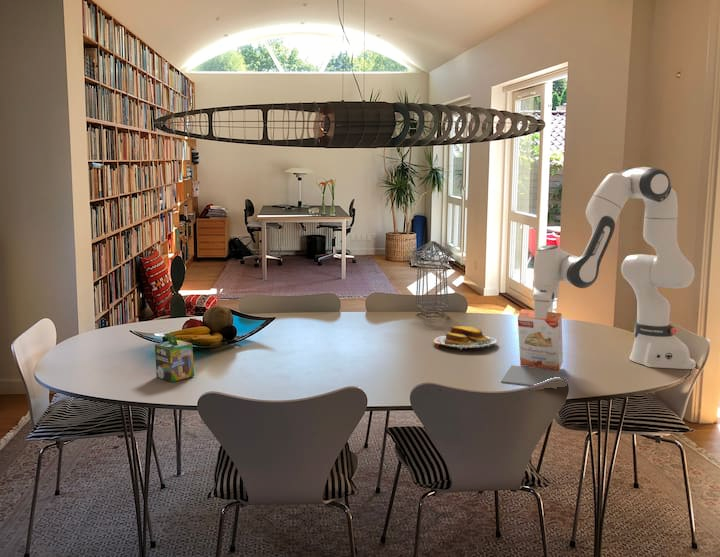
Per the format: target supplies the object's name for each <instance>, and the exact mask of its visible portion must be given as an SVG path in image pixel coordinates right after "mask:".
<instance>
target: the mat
mask: <svg viewBox="0 0 720 557" xmlns="http://www.w3.org/2000/svg"><path fill="white" fill-rule="evenodd" d="M564 372H565V371H564V370H559V371H558V370H549V369H542V368H536V367H529V366H522V365H514V364H513V365H510V367H509V369H508V370H507V372H505V374H504V376H503V377H502V379H501V384H502V383H503V384H512V385H517V386H519V385H520V386H527V387H531V386H530V385H534V384H537V383H540V382H543V381H545V380H547V379H550V378H554V377H560V378H561V379H562V378H563V375H564Z"/></svg>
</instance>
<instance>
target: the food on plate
mask: <svg viewBox="0 0 720 557" xmlns="http://www.w3.org/2000/svg"><path fill="white" fill-rule="evenodd" d="M497 342H498V339H497V338H494V337H492V336H488V335H484V334H483V331H482V329H481V328H478V327H475V326H472V325H471V326H470V325H453V326H451V328H450V330H448V331H447V332H446V333H445V335H441V336H437V337H435V338H434V340H432V343H434V344H436V348H439V345H442V346H445V347H447V348H448V347H449V348H457V349H460V351H461V350H462V349H477V348H478V349H480V348H484V347H490V346H491V345H494V344H495V343H497Z"/></svg>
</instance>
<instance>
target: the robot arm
mask: <svg viewBox="0 0 720 557" xmlns="http://www.w3.org/2000/svg"><path fill="white" fill-rule="evenodd" d="M671 184H672V183H671V178H670V176H669V175H668V172H666V171H665V170H664V169H661V168H658V167H648V166H640V167H628V168H626V169H624V170H621V171H620V172H611V173H609V174H607V175H606V176H605V177H604V179H602V181H601V182H600V184H599V185H598V186H597V188H596V189H595V191H594V192H593V194H592V196H591V198H590V200H589V202H588V203H587V206H586V209H585V217H586V220H587V221H588V223H589V224H590V226H591V230H592V231H591V236H590V238H589V240H588V242H587V244H586V247H585V249H584V251H583V253H582V255H580V256H577V255H575V254H571V253H569V252H567V251H566V250H563V249H561V247H560V246H558V245H555V244H552V245H551V244H550V245H549V244H548V245H543V246H540V247H539V248H537V250H536V252H535V254H534V255H535V256H534V263H533V274H534V275H533V276H534V278H533V280H532V300H534V301H533V303H534V304H533V306H534V307H533V308H534V309H533V310H534V315H535V318H539V319H545V318H547V314H548V312H553V310H554V309H553V308H554V307H553V306H554V302H555V299H557V298H558V297H559V288H560V282H561V281H564V282H566V283H568V284H570V285H573V286H574V287H576V288H579V289H586V288H589V287H591V286H592V285H593V284H595V283H596V281H597V279H598V276H599V273H600V266H601V262H602V259H603V257H604V254H605V253H606V251H607V249H608V246H609V244H610V243H611V242H610V241H611V239H612V237H613V234H614V231H615V229H616V228H615V227H616V223H617V220H618V218H619V216H620V215H621V212H622V210H623V208H624V206H625V205H626V202H627V201H628V200H629V199H630V198H632V199H639V200H642V201H643V202H644V206H645V208H644V216H643V229H642V230H643V232H642V236H643V240H644V241H645V242H646V243H647V244H648V245H650V247H652V248H653V249H654V251H655V254H656V255H654V254H653V255H652V254H644V253H640V254H629V255H627V256H626V257H625V258H624V260H623V261H622V262H621V268H620V270H621V271H620V272H621V275H622V277H623V279H624V280H625V281H627V282H628V283H629V285H630V287H632V290H633V292H634V294H635V297H636V301H637V302H636V304H637V306H636V307H637V308H636V309H637V310H636V312H637V313H636V321H635V323H634V334H633V335H634V342H633V345H632V349H631V353H630V355H629V360H630V361H632V362H634V363H637V364H641V365H643V366H645V367H648V368H658V369H659V368H661V369H678V370H679V369H680V370H694V369H695V368H696V367H697V365H696V364H697V363H696V361H695V359H693V358H691V357H690V354H691V353H690V350H689V348H688V346H687V345H686V344H685V343H684V342H683V341H682V340H681V339H679V337H677V336H676V335H675V334H677V332H678V331H677V329H676V327H675V326H674V325H673V324H670V318H671V317H670V316H671V304H670V301H669V300H668V299H667V298H666V297H664V296H663V295H662V294H661V293H660V292H659V290H658V287H661V288H667V289H684V288H688V287H689V286H690V285H691V284H692V283H693V281H694V279H695V276H696V275H695V273H696V272H695V267H694V265H693V264H692V262H691V261H689V260H688V259H687V258H686V257H685V256H684V254H683V253H682V251H681V249H680V246H679V243H678V219H679V218H678V216H679V207H678V206H679V205H678V196H677V192H676V190H675V189H673V188H672V186H671Z"/></svg>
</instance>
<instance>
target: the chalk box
mask: <svg viewBox="0 0 720 557" xmlns="http://www.w3.org/2000/svg"><path fill="white" fill-rule="evenodd" d="M166 337H167V341H164V342H160V343H155V345H154V352H155V354H154V355H155V368H156V369H155V370H156V372H155V373H156V378H158V379H161V380H164V381H167V382H169V383H174V382H178V381H181V380H186V379H189V378H193V377H195V369H194V353H193V351H194V349H193V343H192V342H187V341H185V340H180V339H179V340H178V339H177V338H176V335H174V334H171V333H166ZM172 339H173V340H172Z"/></svg>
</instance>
